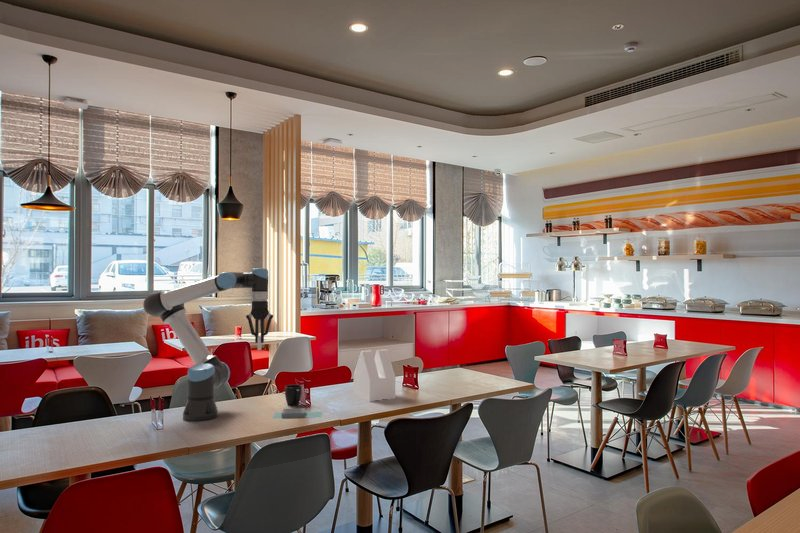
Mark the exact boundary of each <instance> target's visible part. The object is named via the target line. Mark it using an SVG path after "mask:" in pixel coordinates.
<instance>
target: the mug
mask: <svg viewBox="0 0 800 533" xmlns="http://www.w3.org/2000/svg"><path fill="white" fill-rule="evenodd" d="M302 392H303V391H302V385H300V384H287V385H285V386H284V397H285V400H286V404H287V406H291V407H294V406H300V402H301V397H302Z"/></svg>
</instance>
